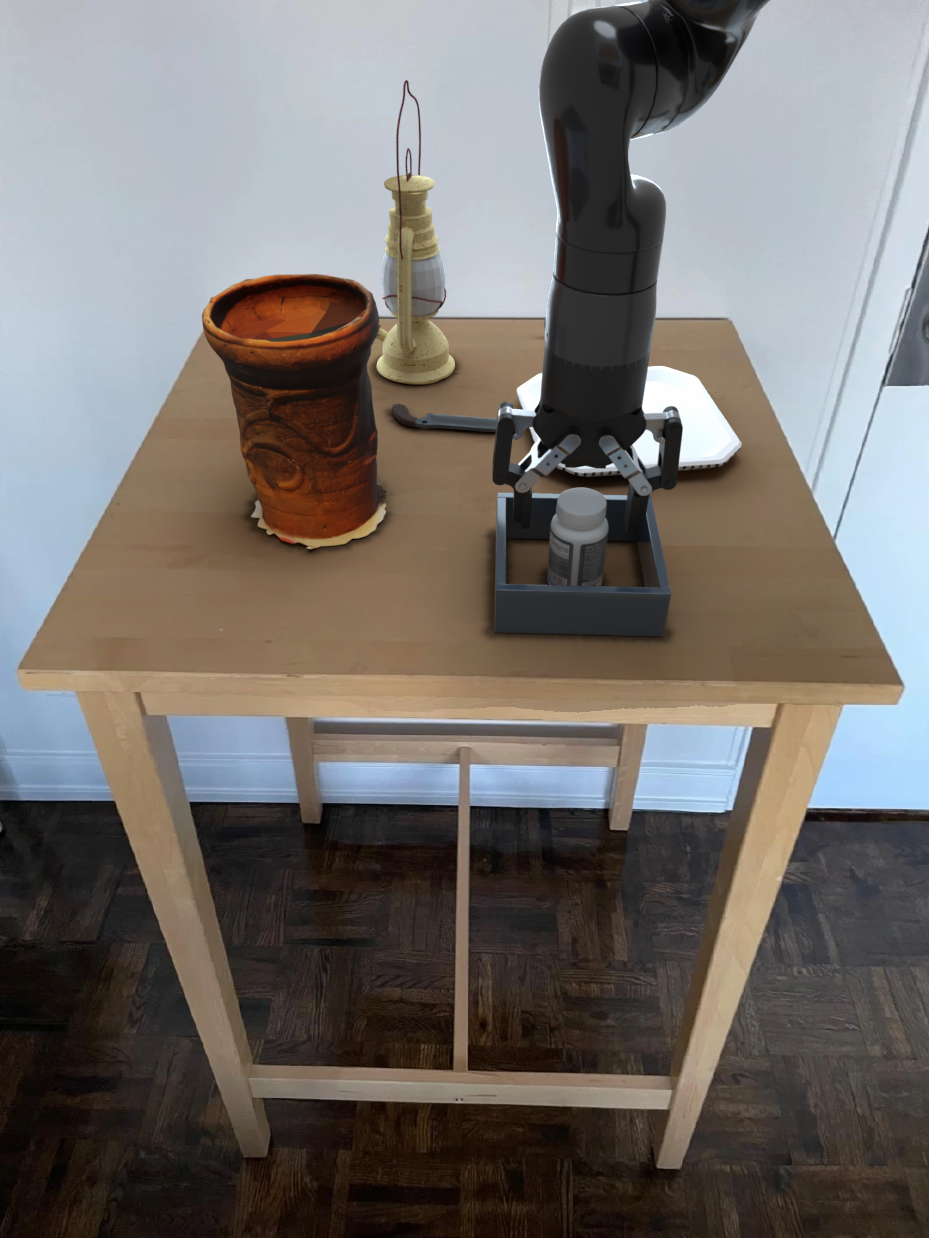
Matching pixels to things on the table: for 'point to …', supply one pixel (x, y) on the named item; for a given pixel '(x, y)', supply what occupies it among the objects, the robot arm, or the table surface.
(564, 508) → the pill bottle
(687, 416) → the plate
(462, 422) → the knife
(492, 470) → the robot arm
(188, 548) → the table surface
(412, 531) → the table surface
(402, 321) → the lantern
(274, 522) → the vessel
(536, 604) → the square frame
